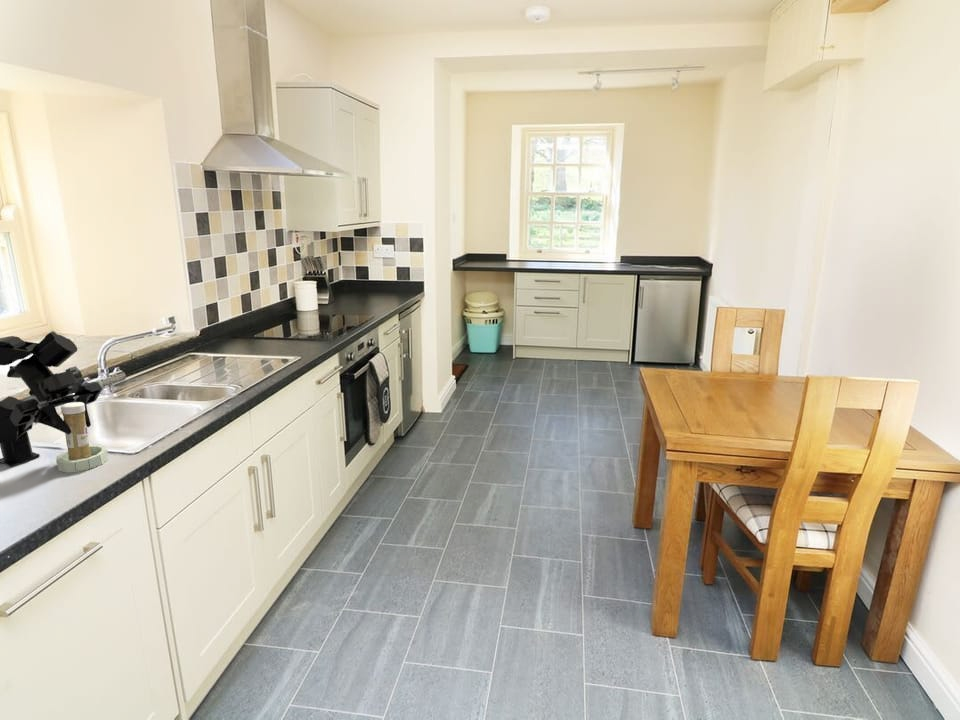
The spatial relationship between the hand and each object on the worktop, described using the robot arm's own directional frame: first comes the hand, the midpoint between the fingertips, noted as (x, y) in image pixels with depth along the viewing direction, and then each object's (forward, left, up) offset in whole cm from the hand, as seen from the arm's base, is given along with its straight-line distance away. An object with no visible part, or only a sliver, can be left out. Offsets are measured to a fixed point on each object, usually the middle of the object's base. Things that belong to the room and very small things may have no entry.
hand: (79, 429), depth 137 cm
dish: (-1, 0, -9) cm, 9 cm away
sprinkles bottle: (-1, -1, -8) cm, 8 cm away
